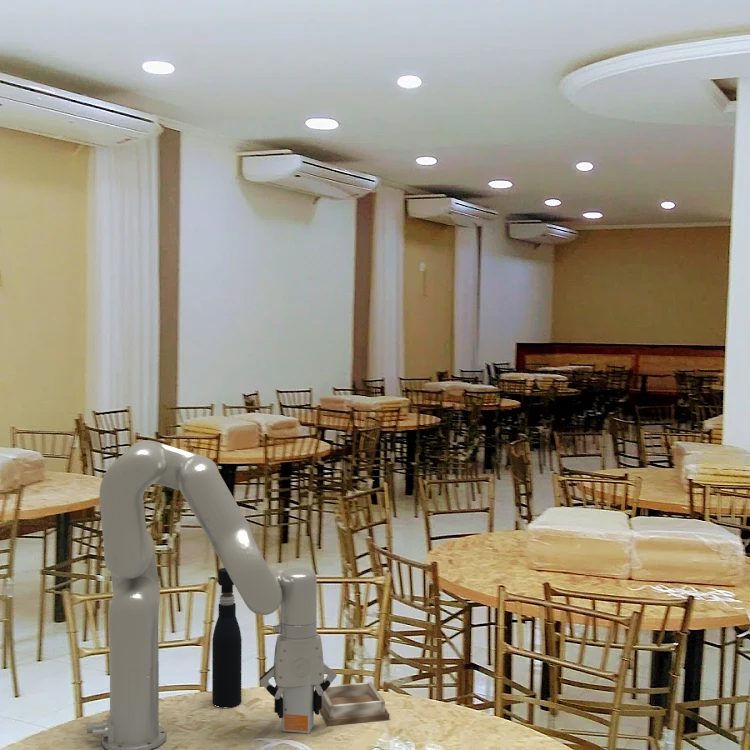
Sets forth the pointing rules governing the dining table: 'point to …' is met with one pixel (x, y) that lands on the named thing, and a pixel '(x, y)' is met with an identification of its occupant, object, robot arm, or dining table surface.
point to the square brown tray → (352, 704)
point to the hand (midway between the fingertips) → (298, 713)
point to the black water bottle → (226, 648)
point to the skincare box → (298, 708)
